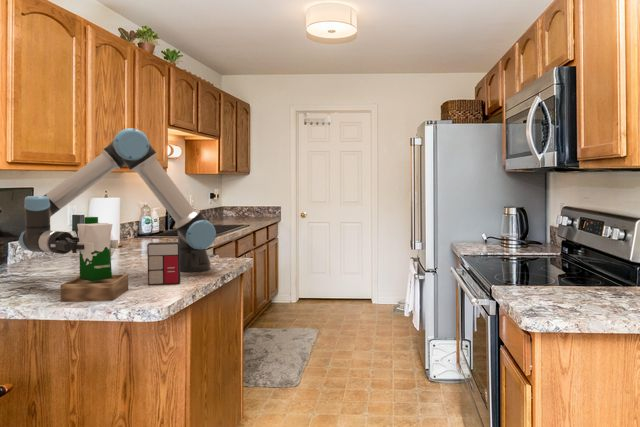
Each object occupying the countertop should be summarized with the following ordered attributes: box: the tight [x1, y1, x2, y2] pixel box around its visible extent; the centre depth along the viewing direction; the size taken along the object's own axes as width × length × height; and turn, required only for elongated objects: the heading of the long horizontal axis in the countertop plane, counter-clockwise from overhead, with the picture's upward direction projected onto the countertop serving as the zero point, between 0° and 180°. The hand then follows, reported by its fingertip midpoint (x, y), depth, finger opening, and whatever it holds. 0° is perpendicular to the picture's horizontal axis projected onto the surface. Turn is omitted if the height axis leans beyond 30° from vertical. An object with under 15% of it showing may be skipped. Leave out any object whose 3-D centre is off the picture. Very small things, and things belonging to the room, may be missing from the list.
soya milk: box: [77, 216, 113, 281], centre depth 151 cm, size 9×9×20 cm
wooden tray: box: [60, 274, 129, 302], centre depth 151 cm, size 16×16×5 cm
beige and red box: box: [146, 241, 181, 286], centre depth 169 cm, size 11×4×15 cm, turn 101°
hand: (105, 245), depth 149 cm, fingers closed on soya milk, 9 cm apart
